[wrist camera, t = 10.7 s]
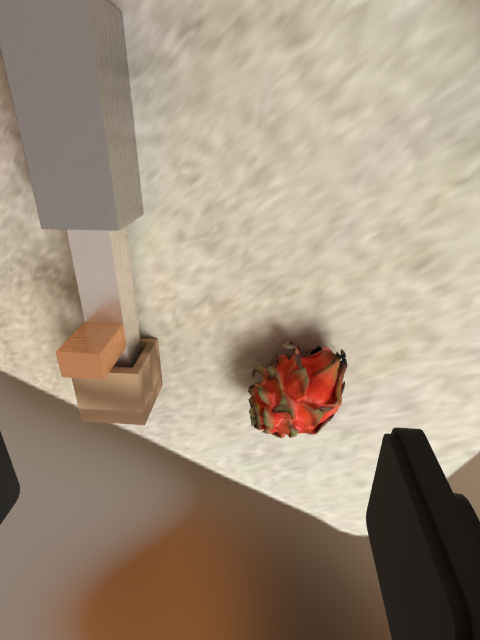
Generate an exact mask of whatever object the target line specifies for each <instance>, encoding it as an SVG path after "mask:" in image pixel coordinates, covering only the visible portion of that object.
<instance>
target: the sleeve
mask: <svg viewBox="0 0 480 640" xmlns="http://www.w3.org/2000/svg"><path fill="white" fill-rule="evenodd" d="M0 47H1V52H2V56H3V61H4V65H5V69H6V74H7V78H8V83H9V87H10V91H11V96H12V100H13V105H14V109H15V114H16V118H17V122H18V127H19V131H20V136H21V140H22V144H23V149H24V153H25V158H26V162H27V167H28V171H29V175H30V180H31V184H32V189H33V193H34V198H35V202H36V206H37V211H38V215H39V220H40V224H41V228H42V229H65V230H106V231H119V230H121V229H122V228H124V227H125V226H127V225H128V224H130V223H131V222H133V221H134V220H136V219H137V218H139V217H140V216H142V215H143V206H142V196H141V187H140V177H139V168H138V159H137V149H136V140H135V130H134V121H133V112H132V102H131V93H130V84H129V74H128V65H127V55H126V46H125V37H124V27H123V18H122V11H120V10H119V9H118V8H116V7H115V6H114V5H112V4H111V3H109V2H108V1H107V0H0Z"/></svg>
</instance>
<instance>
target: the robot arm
mask: <svg viewBox="0 0 480 640" xmlns="http://www.w3.org/2000/svg"><path fill="white" fill-rule="evenodd" d="M19 493H20V485H19V482H18V479H17V477H16V474H15V471H14V468H13V465H12V462H11V460H10V457H9V454H8V452H7V449H6V446H5V443H4V440H3V437H2V435H1V432H0V524H1V523H2V521H3V520H4V518H5V517H6V516H7V514H8V513H9V511H10V510H11V508H12V507H13V506H14V504H15V503H16V501H17V499H18V497H19ZM366 524H367V531H368V535H369V539H370V544H371V548H372V553H373V557H374V561H375V566H376V570H377V575H378V579H379V584H380V588H381V593H382V597H383V601H384V606H385V610H386V615H387V619H388V624H389V628H390V632H391V637H392V640H480V521H479V519H478V517H477V516H476V513H475V511H474V509H473V508H472V506H471V504H470V503H469V501H468V499H467V498H466V497H464V496H463V495H462V494H457V493H453V492H452V490H451V488H450V485H449V483H448V481H447V479H446V477H445V475H444V473H443V471H442V469H441V467H440V465H439V463H438V461H437V458H436V456H435V454H434V452H433V450H432V448H431V446H430V444H429V442H428V440H427V438H426V436H425V434H424V432H423V431H422V430H421V429H410V428H394V429H393V430H392V433H391V434H385V435H384V437H383V440H382V445H381V449H380V454H379V458H378V463H377V467H376V472H375V476H374V481H373V485H372V490H371V494H370V499H369V503H368V507H367V513H366Z"/></svg>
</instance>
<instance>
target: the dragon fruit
mask: <svg viewBox="0 0 480 640" xmlns="http://www.w3.org/2000/svg"><path fill="white" fill-rule="evenodd" d="M281 347H283V348H285V349H290V350H292V351H293V352H294V355H293V357H292V358H291V359H290V360H288V359H287V356H286V355H285V354H281V355H276V357H275V359H274V361H273V367H272V366H269V367H268V368H267V369H266V368H264V367H257V368H255V369H254V370H253V371H252V375H253V377H254V375H255V371H256V370H257V371H258V372H260V373H262V375H263V380H262V383H254V384H252V385H251V386H250V387H249V391H248V392H249V393H250V394H251V395H252V396H251V398H250V399H249V403H250V406H251V409H250V410H249V413H250V418H251V425H252V426H253V425H254V428H256V429H258V430H264V431H263V432H264V433H267V434H272V435H274V436H276V437H279V438H283V437H284V436H285V434H287V435H288V436H289V438H291V437H295V436H297V434H298V433H307V434H317V433H318V432H319V431H320V430H321V429H322V428H323V427H324V426H325V425H326V424H327V423H328V422H329V421H330V420H331V419H332V418H333V416H334V414H335V413H336V412H337V410H338V408H339V407H340V405H341V402H342V396H341V395H342V393H343V391H342V390H344V386H345V382H344V383H343V384H342V382H343V378H344V373H345V371H346V368H347V361H346V359H345V357H346V355H345V352H344V351H343V350H342V349H341V354H340V355H339V354H338V353H337V352H336V353H337V354H333V352H332V350H331V349H329V348H326V347H322V346H318V347H317V348H314V349H310V350H309V351H307V352H306V353H309V352H310V351H312V352H311V353H310V354H313V353H316V354H314V355H312V356H309V357H303V358H301V357H300V349H299V347H298V346H297V347H296V346H295V345H294V344H293V343H292V342H291V341H289V342H287V343H284V344H283V345H281ZM333 348H334V347H333ZM319 351H320V352H319ZM317 352H318V353H317ZM341 358H342V361H340V359H341Z"/></svg>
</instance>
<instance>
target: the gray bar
mask: <svg viewBox="0 0 480 640" xmlns="http://www.w3.org/2000/svg"><path fill="white" fill-rule="evenodd" d="M67 235H68V240H69V245H70V250H71V255H72V260H73V265H74V270H75V275H76V280H77V285H78V290H79V295H80V300H81V305H82V311H83V316H84V321H85V322H84V324H83V325H82V326H81V327H80V328H79V329H78V330H77V331H76V332H75V333H74V334H73V335H72V336H71V337H70V338H69V339H68V340H67V341H66V342H65V343H64V344H63V345H62V346H61V347H60V348H59V349H58V350H57V351H56V355H57V359H58V363H59V367H60V371H61V375H62V377H72V378H91V379H105V378H106V376H107V375H108V373H109V372H110V371H111V369H112V368H113V367H130V368H133V367H134V365H135V363H136V362H137V360H138V358H139V356H140V355H141V353H142V349H141V341H140V333H139V325H138V318H137V310H136V302H135V294H134V286H133V279H132V271H131V263H130V255H129V248H128V240H127V232H126V226H125V227H124V228H122V229H121V230H119V231H106V230H67Z"/></svg>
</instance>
